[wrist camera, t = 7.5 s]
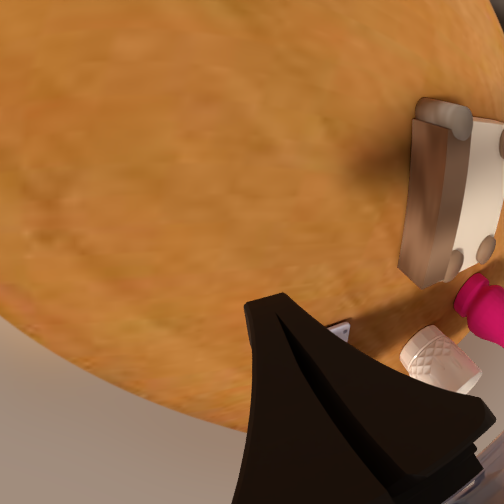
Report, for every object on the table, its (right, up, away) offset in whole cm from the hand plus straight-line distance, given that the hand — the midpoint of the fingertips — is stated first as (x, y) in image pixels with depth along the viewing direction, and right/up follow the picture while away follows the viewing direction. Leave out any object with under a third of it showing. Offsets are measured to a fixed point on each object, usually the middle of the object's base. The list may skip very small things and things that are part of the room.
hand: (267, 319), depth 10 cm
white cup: (+22, -10, +25) cm, 35 cm away
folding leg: (+13, +7, +11) cm, 19 cm away
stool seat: (+20, +8, +13) cm, 25 cm away
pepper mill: (+29, -3, +23) cm, 37 cm away
